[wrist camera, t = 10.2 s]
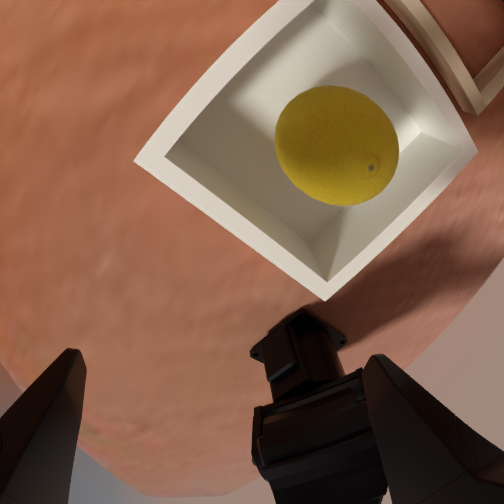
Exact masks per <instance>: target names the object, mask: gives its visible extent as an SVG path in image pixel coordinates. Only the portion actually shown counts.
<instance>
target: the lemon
mask: <svg viewBox="0 0 504 504" xmlns="http://www.w3.org/2000/svg"><path fill="white" fill-rule="evenodd" d="M274 143H275V150H276V156H277V158H278V161H279V163H280V165H281V167H282V170H283V171H284V173H285V174H286V175H287V177H288V178H289V179H290V180H291V181H292V183H293V184H294V185H295V186H296V187H297V188H299V189H300V190H302V191H303V192H304V193H306V194H307V195H308V196H310V197H312V198H314V199H316V200H319V201H322V202H324V203H327V204H330V205H339V206H350V205H358V204H360V203H363V202H366V201H368V200H371V199H372V198H374V197H375V196H377V195H378V194H380V193H381V192H382V191H383V190H384V189H385V188H386V187H387V185H388V184H389V183H390V181H391V179H392V178H393V176H394V174H395V171H396V168H397V165H398V160H399V143H398V136H397V134H396V131H395V129H394V126H393V124H392V122H391V120H390V119H389V118H388V116H387V115H386V114H385V112H384V111H383V110H382V108H381V107H380V106H378V105H377V104H376V103H375V102H373V101H372V100H371V99H370V98H368V97H367V96H366V95H364V94H362V93H360V92H357V91H355V90H352V89H350V88H347V87H340V86H331V85H327V86H320V87H314V88H311V89H309V90H307V91H304V92H302V93H300V94H298V95H297V96H296V97H295V98H293V99H292V100H291V101H290V102H289V103H288V104H287V105H286V107H285V108H284V109H283V111H282V112H281V114H280V116H279V119H278V121H277V124H276V127H275V137H274Z"/></svg>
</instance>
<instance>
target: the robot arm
mask: <svg viewBox="0 0 504 504" xmlns="http://www.w3.org/2000/svg"><path fill="white" fill-rule="evenodd" d="M301 315H303V316H301ZM346 343H347V338H346V336H345V335H343V334H342V333H340V332H339V331H337V330H336V329H334V328H333V327H331V326H330V325H328V324H327V323H325V322H324V321H322V320H321V319H319V318H318V317H316V316H315V315H313V314H312V313H310V312H309V311H307V310H306V309H301V310H299V311H297V312H296V313H295V314H294V315H293V316H291V317H290V318H289V319H288V320H287V321H285V322H284V323H283V324H282V325H281V326H279V327H278V328H277V329H276V330H274V331H273V332H272V333H271V334H270V335H268V336H267V337H266V338H265V339H263V340H262V341H261V342H260V343H258V344H257V345H256V346H255V347H253V348H252V349H251V350H250V356H251V357H252V358H253V359H255V360H257V361H259V362H262V363H264V366H265V371H266V377H267V381H268V382H270V388H271V393H272V398H273V402H274V403H271V404H268V405H265V406H258V407H255V408H254V417H253V429H252V449H251V454H252V462H253V464H254V465H255V466H257V468H258V471H259V472H260V474H261V476H262V477H263V478H264V479H265V480H266V481H268V482H269V484H270V486H271V489H272V492H273V495H274V498H275V502H276V504H381V502H382V498H383V496H384V495H386V492H387V488H388V487H389V492H390V496H391V500H392V504H504V451H502V450H501V449H499V448H498V447H497V446H495V445H494V444H492V443H491V442H489V441H488V440H486V439H485V438H484V437H482V436H481V435H479V434H478V433H477V432H476V431H474V430H473V429H472V428H470V427H469V426H468V425H467V424H465V423H464V422H463V421H462V420H461V419H459V418H458V417H457V416H455V414H454V413H452V412H451V411H450V410H449V409H448V408H447V407H445V406H444V405H443V404H442V403H441V402H440V401H438V400H437V399H436V398H435V397H434V396H433V395H431V394H430V393H429V392H428V391H426V390H425V389H424V388H423V387H422V386H421V385H420V384H418V383H417V382H416V381H415V380H414V379H413V378H411V377H410V376H409V375H408V374H407V373H405V372H404V371H403V370H402V369H401V368H400V367H398V366H397V365H396V364H395V363H394V362H392V361H391V360H390V359H389V358H388V357H387V356H385V355H384V354H375V355H372V356H371V357H370V358H369V360H368V362H367V364H366V366H365V367H364V369H363V368H362V367H361V368H359V369H356V371H355V372H352V373H350V374H348V375H345V372H344V369H343V367H342V364H341V362H340V359H339V356H338V354H337V350H339V349H340V348H341V347H343V346H344V345H345V344H346ZM86 373H87V370H86V365H85V362H84V359H83V356H82V353H81V351H80V350H78V349H73V348H67V349H66V350H64V351H63V352H62V353H61V354H60V355H59V357H58V358H57V359H56V360H55V361H54V362H53V363H52V364H51V365H50V366H49V367H48V368H47V369H46V370H45V371H44V372H43V373H42V374H41V375H40V376H39V377H38V378H37V379H36V380H35V381H34V382H33V383H32V384H31V385H30V386H29V387H28V388H27V390H26V391H25V392H24V393H23V394H22V395H21V396H20V397H19V398H18V399H17V400H16V401H15V402H14V404H13V405H12V406H11V407H10V408H9V409H8V410H7V411H6V412H5V413H4V415H3V416H2V417H1V418H0V504H68V498H69V490H70V482H71V475H72V468H73V461H74V456H75V449H76V445H77V439H78V434H79V429H80V424H81V418H82V410H83V400H84V390H85V382H86Z"/></svg>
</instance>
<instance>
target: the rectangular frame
mask: <svg viewBox="0 0 504 504" xmlns="http://www.w3.org/2000/svg"><path fill="white" fill-rule="evenodd" d="M384 1H385V2H386V4H387V5H388V6H389V7H390V8H391V9H392V11H393V12H394V13H395V14H396V15H397V16H398V18H399V19H400V20H401V21H402V23H403V24H404V25H405V26H406V28H407V29H408V30H409V31H410V33H411V34H412V35H413V37H414V38H415V39H416V40H417V42H418V43H419V44H420V46H421V47H422V49H423V50H424V51H425V53H426V54H427V56H428V57H429V58H430V60H431V61H432V63H433V64H434V66H435V67H436V69H437V70H438V72H439V73H440V75H441V76H442V78H443V79H444V81H445V83H446V84H447V86H448V87H449V89H450V91H451V92H452V94H453V96H454V97H455V99H456V101H457V102H458V104H459V106H460V108H461V110H462V111H464V112H467V113H470V114H473V115H476V116H479V115H480V113H481V112H482V111H483V110H484V109H485V108H486V107H487V105H488V104H489V103H490V102H491V101H492V100H493V99H494V97H495V96H496V95H497V94H498V93H499V92H500V90H501V89H502V88H503V87H504V46H503V47H502V48H501V49H500V50H499V51H498V52H497V54H496V55H495V56H494V57H493V58H492V59H491V60H490V61H489V62H488V64H487V65H486V66H485V67H484V68H483V69H482V70H481V71H480V72H479V73H478V74H477V76H476V77H475V78H474V79H472V78H471V76H470V74H469V72H468V71H467V69H466V67H465V66H464V64H463V62H462V61H461V59H460V57H459V56H458V54H457V52H456V51H455V49H454V48H453V46H452V45H451V43H450V42H449V40H448V39H447V37H446V36H445V34H444V33H443V31H442V30H441V28H440V27H439V25H438V24H437V23H436V21H435V20H434V19H433V17H432V16H431V15H430V13H429V12H428V11H427V9H426V8H425V7H424V5H423V4H422V3H421V2H420V0H384ZM503 1H504V0H503Z"/></svg>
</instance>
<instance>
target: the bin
mask: <svg viewBox="0 0 504 504" xmlns="http://www.w3.org/2000/svg"><path fill="white" fill-rule="evenodd" d="M327 85H331V86H340V87H347V88H350V89H352V90H355V91H357V92H360V93H362V94H364V95H366V96H367V97H368V98H370V99H371V100H372V101H373V102H375V103H376V104H377V105H378V106H380V107H381V108H382V110H383V111H384V112H385V114H386V115H387V116H388V118H389V119H390V120H391V122H392V124H393V126H394V129H395V131H396V134H397V136H398V143H399V160H398V165H397V168H396V171H395V174H394V176H393V178H392V179H391V181H390V183H389V184H388V185H387V187H386V188H385V189H384V190H383V191H382V192H381V193H380V194H378V195H377V196H375V197H374V198H372V199H371V200H368V201H366V202H363V203H360V204H358V205H350V206H339V205H330V204H327V203H324V202H322V201H319V200H316V199H314V198H312V197H310V196H308V195H307V194H306V193H304V192H303V191H302V190H300V189H299V188H297V187H296V186H295V185H294V184H293V183H292V181H291V180H290V179H289V178H288V177H287V175H286V174H285V173H284V171H283V170H282V167H281V165H280V163H279V161H278V158H277V156H276V150H275V143H274V137H275V127H276V124H277V121H278V119H279V116H280V114H281V112H282V111H283V109H284V108H285V107H286V105H287V104H288V103H289V102H290V101H291V100H292V99H293V98H295V97H296V96H297V95H298V94H300V93H302V92H304V91H307V90H309V89H311V88H314V87H320V86H327ZM477 153H478V150H477V148H476V146H475V144H474V142H473V140H472V138H471V136H470V134H469V133H468V131H467V129H466V127H465V125H464V123H463V121H462V120H461V118H460V116H459V114H458V113H457V111H456V109H455V107H454V106H453V104H452V102H451V101H450V99H449V97H448V96H447V94H446V92H445V91H444V89H443V88H442V86H441V84H440V83H439V81H438V80H437V78H436V77H435V75H434V74H433V72H432V71H431V69H430V68H429V66H428V65H427V64H426V62H425V61H424V59H423V58H422V57H421V55H420V54H419V52H418V51H417V50H416V48H415V47H414V46H413V44H412V43H411V42H410V40H409V39H408V38H407V37H406V35H405V34H404V33H403V32H402V30H401V29H400V28H399V27H398V25H397V24H396V23H395V22H394V21H393V19H392V18H391V17H390V16H389V15H388V13H387V12H386V11H385V10H384V9H383V8H382V7H381V6H380V4H379V3H378V2H377V1H376V0H279V1H278V2H277V3H276V4H275V5H274V6H273V7H271V8H270V9H269V10H268V11H267V12H266V13H265V14H264V15H263V16H261V17H260V18H259V19H258V20H257V21H256V22H255V23H254V24H253V25H252V26H251V27H250V28H249V29H247V30H246V31H245V32H244V33H243V34H242V35H241V36H240V37H239V38H238V39H237V40H236V41H235V42H234V43H233V44H232V45H231V46H230V47H229V48H228V49H227V50H226V51H225V52H224V53H223V54H222V55H221V56H220V57H219V58H218V60H217V61H216V62H215V63H214V64H213V65H212V66H211V67H210V68H209V69H208V70H207V71H206V72H205V73H204V75H203V76H202V77H201V78H200V79H199V80H198V81H197V82H196V83H195V85H194V86H193V87H192V88H191V89H190V90H189V91H188V93H187V94H186V95H185V96H184V97H183V98H182V100H181V101H180V102H179V103H178V104H177V106H176V107H175V108H174V109H173V110H172V112H171V113H170V114H169V115H168V116H167V118H166V119H165V120H164V121H163V123H162V124H161V125H160V126H159V128H158V129H157V130H156V132H155V133H154V134H153V135H152V137H151V138H150V139H149V141H148V142H147V143H146V145H145V146H144V147H143V149H142V150H141V151H140V153H139V154H138V155H137V157H136V158H135V159H134V162H135V163H137V164H138V165H140V166H141V167H142V168H144V169H145V170H146V171H148V172H149V173H151V174H152V175H153V176H155V177H156V178H157V179H159V180H160V181H162V182H163V183H164V184H166V185H167V186H168V187H170V188H171V189H172V190H174V191H175V192H177V193H178V194H179V195H181V196H182V197H183V198H185V199H186V200H187V201H189V202H190V203H192V204H193V205H194V206H196V207H197V208H198V209H200V210H201V211H203V212H204V213H205V214H207V215H208V216H209V217H211V218H212V219H213V220H215V221H216V222H218V223H219V224H220V225H222V226H223V227H224V228H226V229H227V230H228V231H230V232H231V233H233V234H234V235H235V236H237V237H238V238H239V239H241V240H242V241H243V242H245V243H246V244H247V245H249V246H250V247H252V248H253V249H254V250H256V251H257V252H258V253H260V254H261V255H262V256H264V257H265V258H267V259H268V260H269V261H271V262H272V263H273V264H275V265H276V266H277V267H279V268H280V269H281V270H283V271H284V272H286V273H287V274H288V275H290V276H291V277H292V278H294V279H295V280H296V281H298V282H299V283H300V284H302V285H303V286H305V287H306V288H307V289H309V290H310V291H311V292H313V293H314V294H315V295H317V296H318V297H319V298H321V299H322V300H324V301H326V300H327V299H329V298H330V297H331V296H332V295H333V294H334V293H336V292H337V291H338V290H339V289H340V288H341V287H342V286H344V285H345V284H346V283H347V282H348V281H349V280H350V279H352V278H353V277H354V276H355V275H356V274H357V273H358V272H359V271H360V270H362V269H363V268H364V267H365V266H366V265H367V264H368V263H369V262H370V261H371V260H372V259H374V258H375V257H376V256H377V255H378V254H379V253H380V252H381V251H382V250H383V249H384V248H385V247H386V246H388V245H389V244H390V243H391V242H392V241H393V240H394V239H395V238H396V237H397V236H398V235H399V234H400V233H401V232H402V231H403V230H404V229H405V228H406V227H407V226H408V225H409V224H410V223H411V222H412V221H413V220H414V219H415V218H416V217H417V216H418V215H419V214H420V213H421V212H422V211H423V210H424V209H425V208H426V207H427V206H428V205H429V204H430V203H431V202H432V201H433V200H434V199H435V198H436V197H437V196H438V195H439V194H440V193H441V192H442V191H443V190H444V189H445V188H446V187H447V186H448V185H449V184H450V182H451V181H452V180H453V179H454V178H455V177H456V176H457V175H458V174H459V173H460V172H461V171H462V170H463V168H464V167H465V166H466V165H467V164H468V163H469V162H470V161H471V160H472V159H473V157H474V156H475V155H476V154H477Z"/></svg>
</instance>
